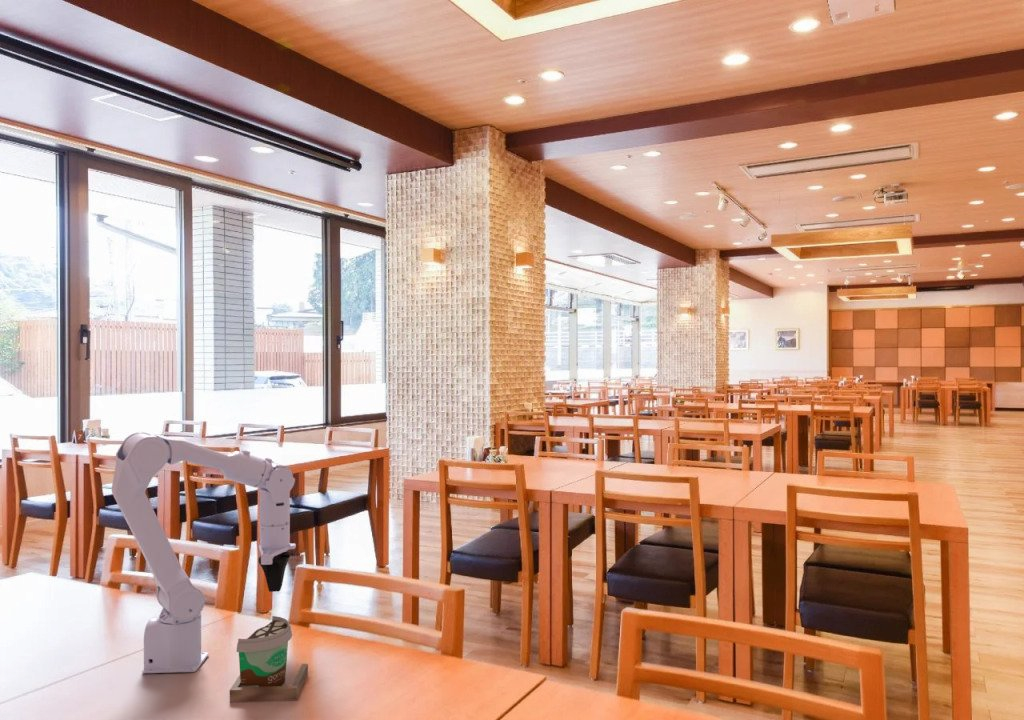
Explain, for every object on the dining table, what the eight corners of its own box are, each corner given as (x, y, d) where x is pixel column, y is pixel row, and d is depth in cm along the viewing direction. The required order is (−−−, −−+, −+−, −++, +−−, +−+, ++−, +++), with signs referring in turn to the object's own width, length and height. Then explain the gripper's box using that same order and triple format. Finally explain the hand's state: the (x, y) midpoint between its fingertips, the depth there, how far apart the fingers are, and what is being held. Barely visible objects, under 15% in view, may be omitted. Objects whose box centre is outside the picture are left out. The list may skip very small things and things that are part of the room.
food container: (269, 702, 127) (269, 643, 127) (236, 698, 128) (236, 639, 128) (304, 671, 139) (304, 617, 139) (274, 668, 140) (274, 614, 140)
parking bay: (229, 702, 127) (229, 690, 127) (245, 676, 137) (245, 665, 137) (296, 700, 128) (296, 688, 128) (307, 674, 138) (307, 663, 138)
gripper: (287, 531, 146) (287, 602, 146) (302, 515, 160) (302, 579, 160) (249, 532, 145) (249, 602, 145) (268, 515, 160) (268, 579, 160)
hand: (274, 590), depth 153 cm, fingers closed
